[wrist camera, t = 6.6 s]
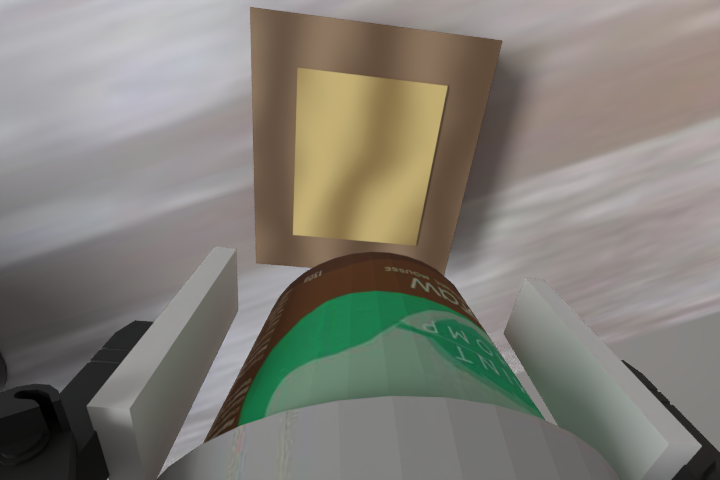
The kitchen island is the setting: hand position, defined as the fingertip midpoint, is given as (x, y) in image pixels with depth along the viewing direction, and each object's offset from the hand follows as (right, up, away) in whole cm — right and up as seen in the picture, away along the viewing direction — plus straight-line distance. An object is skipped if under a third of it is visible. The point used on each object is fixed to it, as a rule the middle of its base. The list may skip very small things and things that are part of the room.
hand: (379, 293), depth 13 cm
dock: (-1, +9, +16) cm, 18 cm away
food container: (+1, 0, +2) cm, 2 cm away
